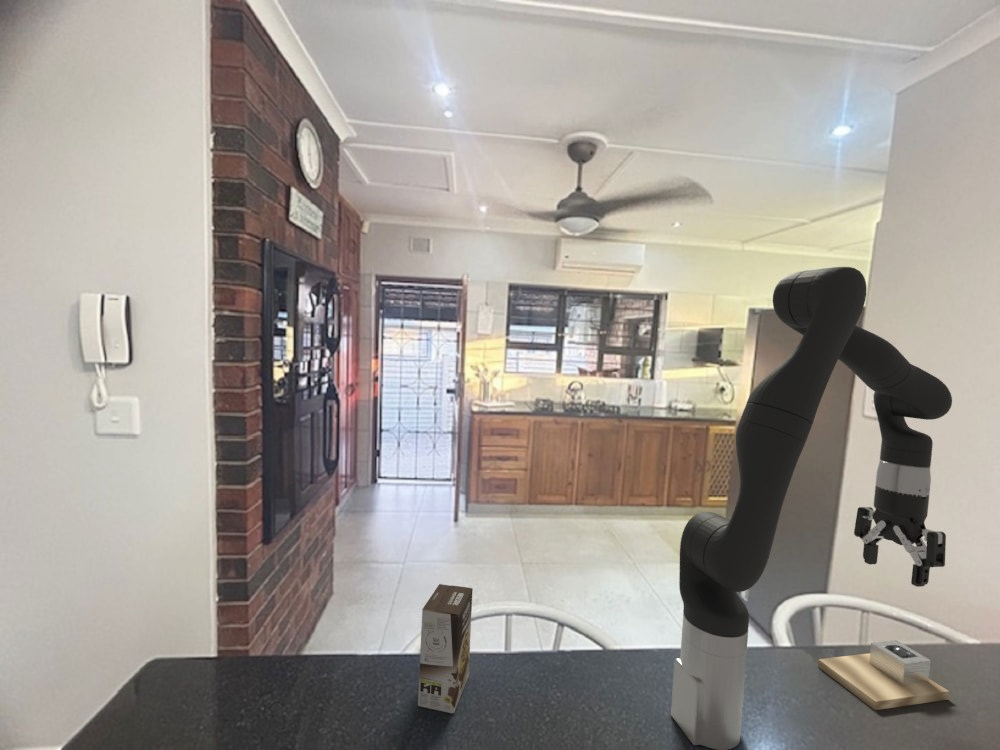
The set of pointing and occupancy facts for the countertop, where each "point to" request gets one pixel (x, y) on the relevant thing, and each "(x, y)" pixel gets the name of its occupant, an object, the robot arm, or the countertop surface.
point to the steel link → (900, 663)
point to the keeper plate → (879, 682)
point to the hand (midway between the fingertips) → (893, 574)
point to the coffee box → (445, 647)
